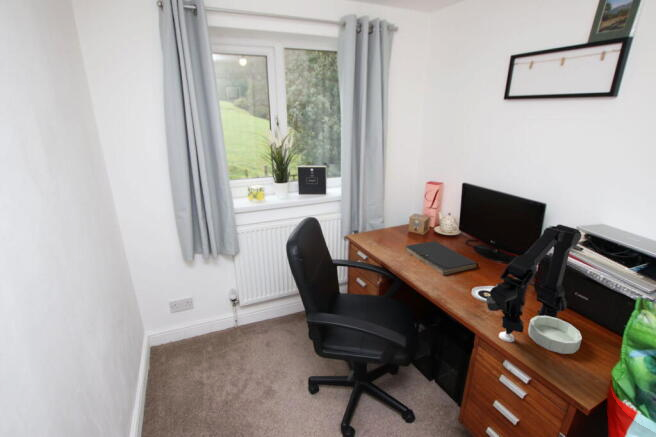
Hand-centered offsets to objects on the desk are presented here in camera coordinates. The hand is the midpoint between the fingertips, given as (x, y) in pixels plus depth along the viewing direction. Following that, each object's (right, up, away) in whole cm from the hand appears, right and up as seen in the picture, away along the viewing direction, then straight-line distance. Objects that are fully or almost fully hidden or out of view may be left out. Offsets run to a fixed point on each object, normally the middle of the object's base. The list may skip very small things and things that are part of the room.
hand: (507, 331), depth 114 cm
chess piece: (0, -3, +1) cm, 3 cm away
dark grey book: (-2, +18, +64) cm, 67 cm away
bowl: (+17, -3, 0) cm, 17 cm away
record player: (+10, +6, +28) cm, 31 cm away
